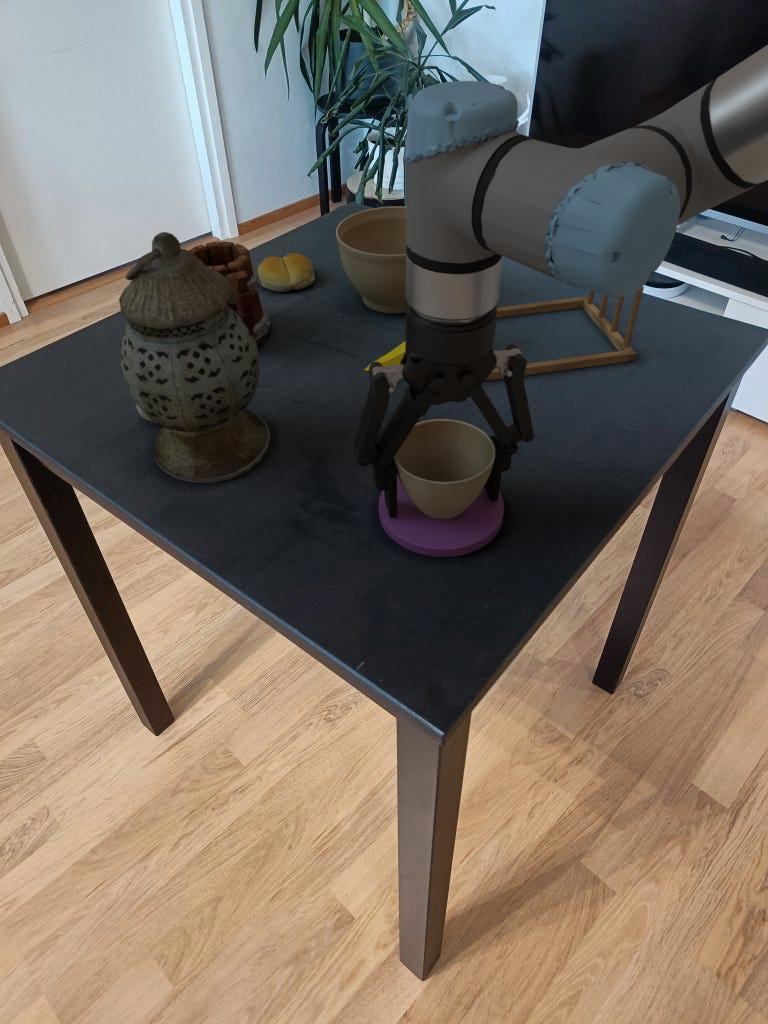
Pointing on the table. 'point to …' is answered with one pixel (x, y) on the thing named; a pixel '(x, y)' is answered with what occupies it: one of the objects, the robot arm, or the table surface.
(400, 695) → the table surface
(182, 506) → the table surface
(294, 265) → the bread roll
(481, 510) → the lid
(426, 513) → the flower pot
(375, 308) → the planter bowl
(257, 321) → the mug
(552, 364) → the rack
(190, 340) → the lantern
